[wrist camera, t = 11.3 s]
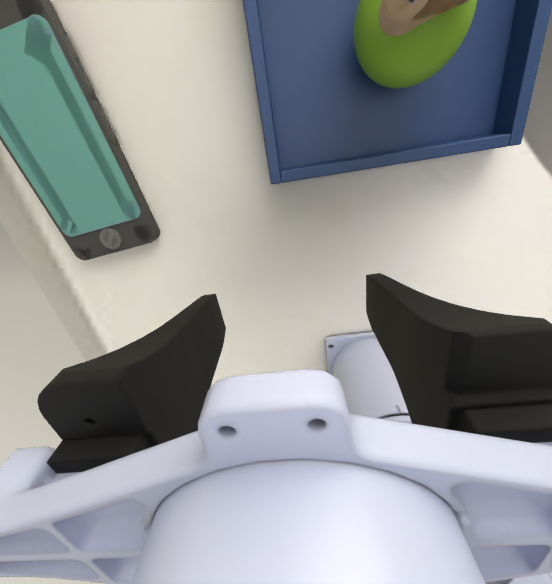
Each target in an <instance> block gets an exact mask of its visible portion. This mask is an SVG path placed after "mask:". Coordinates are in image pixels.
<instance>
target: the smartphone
mask: <svg viewBox="0 0 552 584" xmlns="http://www.w3.org/2000/svg"><path fill="white" fill-rule="evenodd" d="M0 140H1V141H2V143H3V144H4V146H5V148H6V149H7V151H8V152H9V154H10V155H11V157H12V158H13V160H14V161H15V163H16V164H17V166H18V168H19V169H20V171H21V172H22V174H23V175H24V177H25V178H26V180H27V181H28V183H29V184H30V186H31V188H32V189H33V191H34V192H35V194H36V195H37V197H38V198H39V200H40V201H41V203H42V205H43V206H44V208H45V209H46V211H47V212H48V214H49V215H50V217H51V218H52V220H53V221H54V223H55V225H56V226H57V228H58V229H59V231H60V232H61V234H62V235H63V237H64V238H65V240H66V241H67V243H68V245H69V246H70V248H71V249H72V251H73V252H74V254H75V255H76V256H77V257H78V258H80V259H82V260H89V259H92V258H96V257H100V256H103V255H107V254H111V253H114V252H118V251H122V250H125V249H129V248H133V247H136V246H140V245H144V244H147V243H151V242H153V241H154V240H155V239H156V238H158V237H159V234H160V230H159V228H158V226H157V224H156V222H155V220H154V217H153V215H152V213H151V211H150V209H149V207H148V205H147V203H146V201H145V199H144V196H143V194H142V192H141V190H140V188H139V186H138V184H137V182H136V180H135V178H134V175H133V173H132V171H131V169H130V167H129V165H128V163H127V161H126V159H125V157H124V154H123V152H122V150H121V148H120V146H119V144H118V141H117V139H116V137H115V135H114V132H113V130H112V128H111V126H110V124H109V122H108V120H107V118H106V116H105V114H104V111H103V109H102V107H101V105H100V103H99V102H98V100H97V98H96V96H95V93H94V90H93V88H92V86H91V84H90V82H89V80H88V78H87V76H86V74H85V72H84V69H83V68H82V66H81V64H80V62H79V59H78V57H77V55H76V53H75V51H74V48H73V46H72V44H71V42H70V40H69V38H68V36H67V34H66V32H65V31H64V29H63V27H62V24H61V22H60V20H59V18H58V16H57V14H56V12H55V10H54V8H53V6H52V3H51V2H50V1H49V0H0Z"/></svg>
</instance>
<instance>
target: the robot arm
mask: <svg viewBox="0 0 552 584" xmlns="http://www.w3.org/2000/svg"><path fill="white" fill-rule="evenodd" d="M366 312H367V316H368V319H369V322H370V325H371V328H372V330H373V332H367V333H357V334H348V335H338V336H329V337H327V338H326V339H325V347H326V358H327V369H328V373H327V372H326V371H320V370H310V369H303V370H293V371H282V372H272V373H261V374H251V375H240V376H231V377H228V378H225V379H222V380H219V381H216V382H215V383H214V384H213V386H212V387H211V388H210V386H211V382H212V379H213V376H214V373H215V370H216V367H217V364H218V360H219V357H220V354H221V351H222V347H223V343H224V337H225V330H226V327H225V324H224V321H223V317H222V314H221V310H220V307H219V304H218V300H217V297H216V294H211V295H204V296H202V297H200V298H199V299H197V300H196V301H195V302H193V303H192V304H191V305H189V306H188V307H187V308H185V309H184V310H183V311H181V312H180V313H179V314H178V315H176V316H175V317H173V318H172V319H171V320H169V321H168V322H166V323H165V324H164V325H162V326H161V327H159V328H158V329H156V330H154V331H153V332H151V333H149V334H148V335H146V336H144V337H142V338H140V339H138V340H136V341H134V342H132V343H130V344H128V345H126V346H124V347H122V348H120V349H118V350H115V351H113V352H111V353H108V354H106V355H103V356H100V357H98V358H95V359H92V360H89V361H86V362H84V363H80V364H77V365H74V366H71V367H68V368H65V369H63V370H61V372H60V373H59V374H58V375H57V376H56V377H55V378H54V379H53V380H52V381H51V382H50V383H49V384H48V385H47V386H46V387H45V388H44V389H43V390H42V392H41V393H40V394H39V397H38V405H39V410H40V412H41V413H42V415H43V417H44V418H45V419H46V420H47V422H48V423H49V424H50V425H51V427H52V428H53V429H54V430H55V431H56V432H57V434H58V435H59V436H60V438H61V439H62V442H61V444H60V445H59V446H58V447H57V449H56V450H55V449H54V448H51V447H45V446H43V447H31V448H19V449H16V450H15V451H14V452H13V453H12V454H11V455H10V457H9V458H8V459H7V460H6V462H4V464H3V465H2V466H1V467H0V577H41V578H59V579H69V580H80V581H89V582H99V583H108V584H552V324H551V323H550V322H548V321H547V320H545V319H544V318H533V317H523V316H512V315H504V314H498V313H492V312H486V311H480V310H475V309H471V308H467V307H463V306H458V305H455V304H451V303H448V302H445V301H442V300H439V299H436V298H433V297H430V296H428V295H425V294H423V293H420V292H418V291H416V290H414V289H411V288H409V287H407V286H405V285H403V284H401V283H399V282H397V281H395V280H393V279H391V278H389V277H387V276H385V275H383V274H380V273H378V274H370V275H366ZM329 345H333V346H329Z"/></svg>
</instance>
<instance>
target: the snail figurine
mask: <svg viewBox="0 0 552 584" xmlns="http://www.w3.org/2000/svg"><path fill="white" fill-rule="evenodd" d="M476 4H477V0H360V1H359V4H358V7H357V11H356V16H355V22H354V45H355V51H356V55H357V58H358V61H359V63H360V65H361V67H362V69H363V70H364V72H365V73H366V74H367V76H368V77H369V78H370V79H372V80H373V81H374V82H376V83H377V84H379V85H382V86H384V87H388V88H406V87H410V86H414V85H416V84H419V83H421V82H423V81H425V80H427V79H428V78H430V77H431V76H433V75H434V74H435V73H437V72H438V71H439V70H440V69H441V68H442V67H443V66H444V65H445V64H446V63H447V62H448V61H449V60H450V59H451V58H452V56H453V55H454V54H455V52H456V51H457V50H458V48H459V47H460V45H461V43H462V42H463V40H464V38H465V36H466V34H467V32H468V30H469V28H470V25H471V22H472V19H473V16H474V13H475V9H476Z"/></svg>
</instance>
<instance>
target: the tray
mask: <svg viewBox="0 0 552 584" xmlns="http://www.w3.org/2000/svg"><path fill="white" fill-rule="evenodd" d="M359 1H360V0H243V5H244V11H245V18H246V24H247V31H248V37H249V44H250V50H251V57H252V63H253V70H254V76H255V83H256V89H257V96H258V102H259V109H260V115H261V122H262V128H263V135H264V141H265V148H266V154H267V161H268V167H269V174H270V180H271V184H277V183H281V182H282V183H284V182H290V181H296V180H302V179H308V178H315V177H321V176H327V175H333V174H339V173H346V172H352V171H358V170H364V169H370V168H377V167H383V166H389V165H395V164H401V163H408V162H414V161H420V160H426V159H432V158H439V157H445V156H451V155H457V154H463V153H470V152H476V151H482V150H488V149H494V148H501V147H507V146H513V145H519V144H521V141H522V137H523V132H524V128H525V123H526V119H527V114H528V110H529V105H530V101H531V97H532V92H533V88H534V83H535V79H536V74H537V70H538V65H539V61H540V56H541V52H542V48H543V43H544V39H545V34H546V29H547V25H548V21H549V16H550V12H551V7H552V0H477V4H476V9H475V13H474V16H473V19H472V22H471V25H470V28H469V30H468V32H467V34H466V36H465V38H464V40H463V42H462V43H461V45H460V47H459V48H458V50H457V51H456V52H455V54H454V55H453V56H452V58H451V59H450V60H449V61H448V62H447V63H446V64H445V65H444V66H443V67H442V68H441V69H440V70H439V71H438V72H437V73H435V74H434V75H433V76H431V77H430V78H428V79H427V80H425V81H423V82H421V83H419V84H416V85H414V86H410V87H406V88H388V87H384V86H382V85H379V84H377V83H376V82H374V81H373V80H372V79H370V78H369V77H368V76H367V74H366V73H365V72H364V70H363V69H362V67H361V65H360V63H359V61H358V58H357V55H356V51H355V45H354V22H355V16H356V11H357V7H358V4H359Z"/></svg>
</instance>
